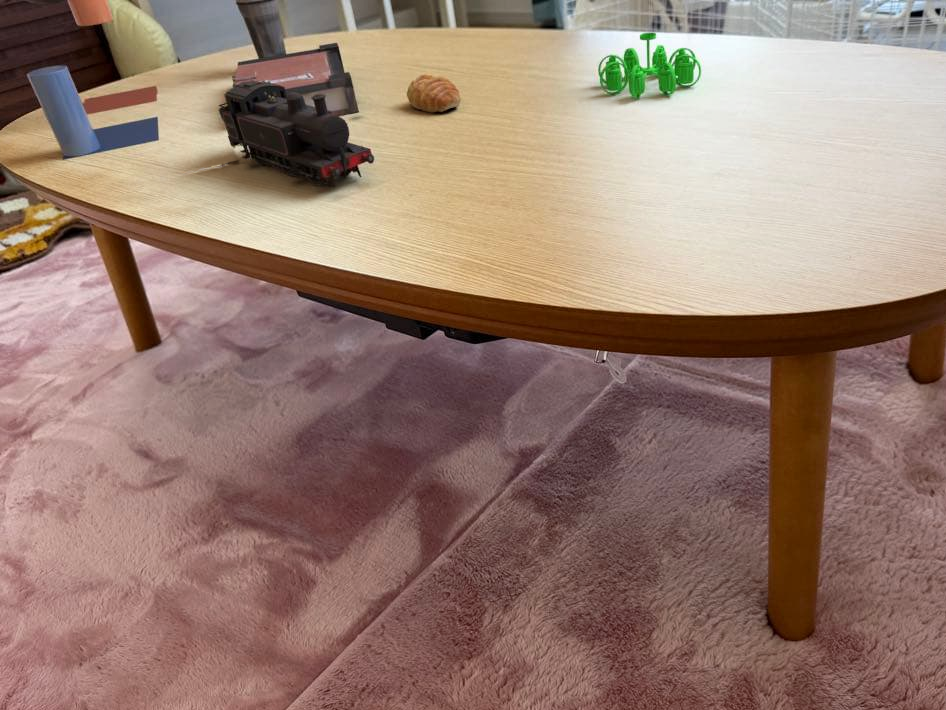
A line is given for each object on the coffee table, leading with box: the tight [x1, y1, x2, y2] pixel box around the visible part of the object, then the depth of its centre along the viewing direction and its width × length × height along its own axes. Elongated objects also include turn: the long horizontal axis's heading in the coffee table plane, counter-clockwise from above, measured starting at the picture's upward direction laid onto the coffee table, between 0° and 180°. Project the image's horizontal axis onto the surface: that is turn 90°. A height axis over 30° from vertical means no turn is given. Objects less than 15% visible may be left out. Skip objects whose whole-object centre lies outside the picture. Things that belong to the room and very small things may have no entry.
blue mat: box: [62, 116, 160, 161], centre depth 120 cm, size 13×14×1 cm
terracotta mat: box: [83, 85, 158, 115], centre depth 138 cm, size 12×12×1 cm
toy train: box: [218, 80, 375, 188], centre depth 98 cm, size 8×25×10 cm, turn 45°
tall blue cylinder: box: [26, 65, 100, 158], centre depth 112 cm, size 5×5×11 cm
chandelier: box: [597, 32, 702, 99], centre depth 113 cm, size 15×15×7 cm
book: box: [231, 42, 360, 117], centre depth 127 cm, size 26×18×5 cm
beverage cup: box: [235, 0, 287, 59], centre depth 142 cm, size 7×7×20 cm
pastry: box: [406, 73, 462, 114], centre depth 116 cm, size 9×7×4 cm
